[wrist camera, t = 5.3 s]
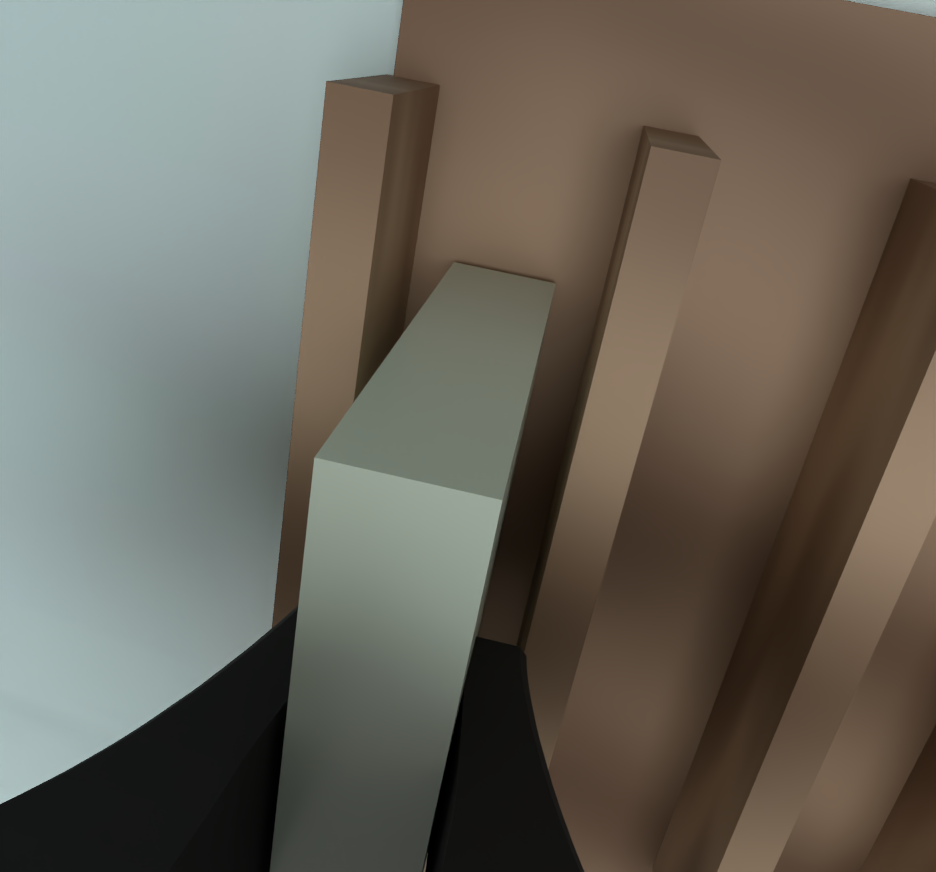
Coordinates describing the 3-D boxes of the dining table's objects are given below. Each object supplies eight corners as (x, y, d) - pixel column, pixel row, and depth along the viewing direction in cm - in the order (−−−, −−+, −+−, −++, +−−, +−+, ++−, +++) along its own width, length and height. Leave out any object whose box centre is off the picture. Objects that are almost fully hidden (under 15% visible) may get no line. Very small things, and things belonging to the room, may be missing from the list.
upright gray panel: (458, 724, 17) (368, 1115, 11) (380, 705, 18) (246, 1081, 11) (556, 283, 14) (502, 499, 7) (454, 261, 14) (315, 457, 7)
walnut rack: (832, 943, 20) (881, 1144, 16) (304, 808, 21) (238, 970, 17) (1280, 87, 12) (1559, 105, 9) (421, -72, 13) (346, -118, 9)
